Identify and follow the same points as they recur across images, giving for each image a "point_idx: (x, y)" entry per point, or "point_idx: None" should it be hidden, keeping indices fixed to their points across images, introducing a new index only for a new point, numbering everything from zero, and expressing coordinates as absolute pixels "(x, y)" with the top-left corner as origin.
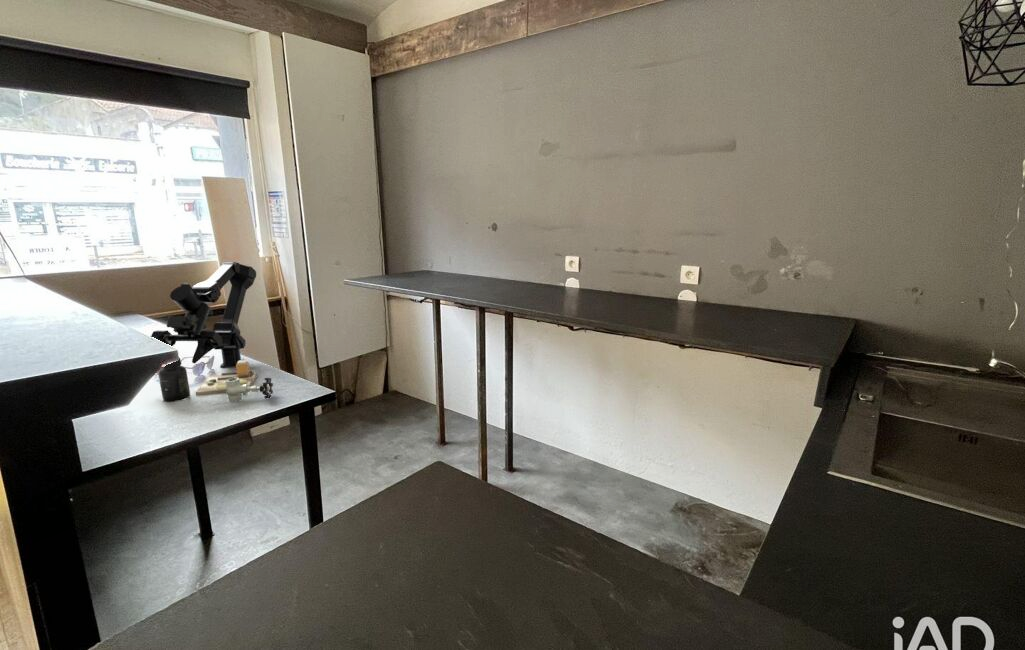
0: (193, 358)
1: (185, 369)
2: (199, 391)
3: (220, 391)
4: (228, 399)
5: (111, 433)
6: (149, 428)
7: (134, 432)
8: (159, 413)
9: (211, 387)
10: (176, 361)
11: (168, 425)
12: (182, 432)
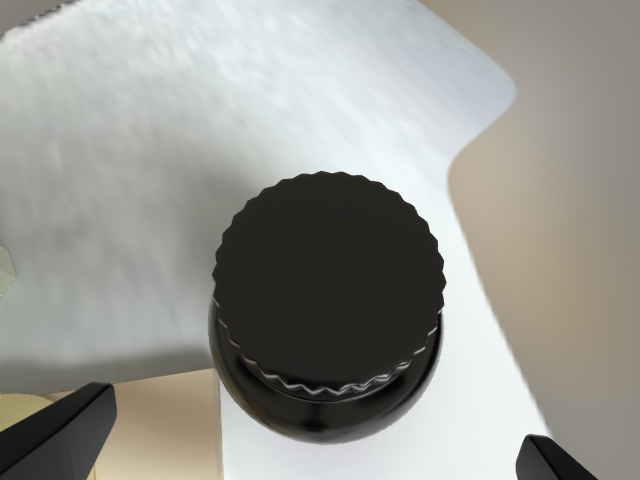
0: (66, 410)
1: (209, 339)
2: (189, 379)
3: (64, 393)
4: (9, 269)
5: (375, 32)
6: (267, 50)
7: (302, 31)
8: (302, 161)
9: (128, 458)
10: (234, 232)
11: (211, 63)
12: (142, 18)
